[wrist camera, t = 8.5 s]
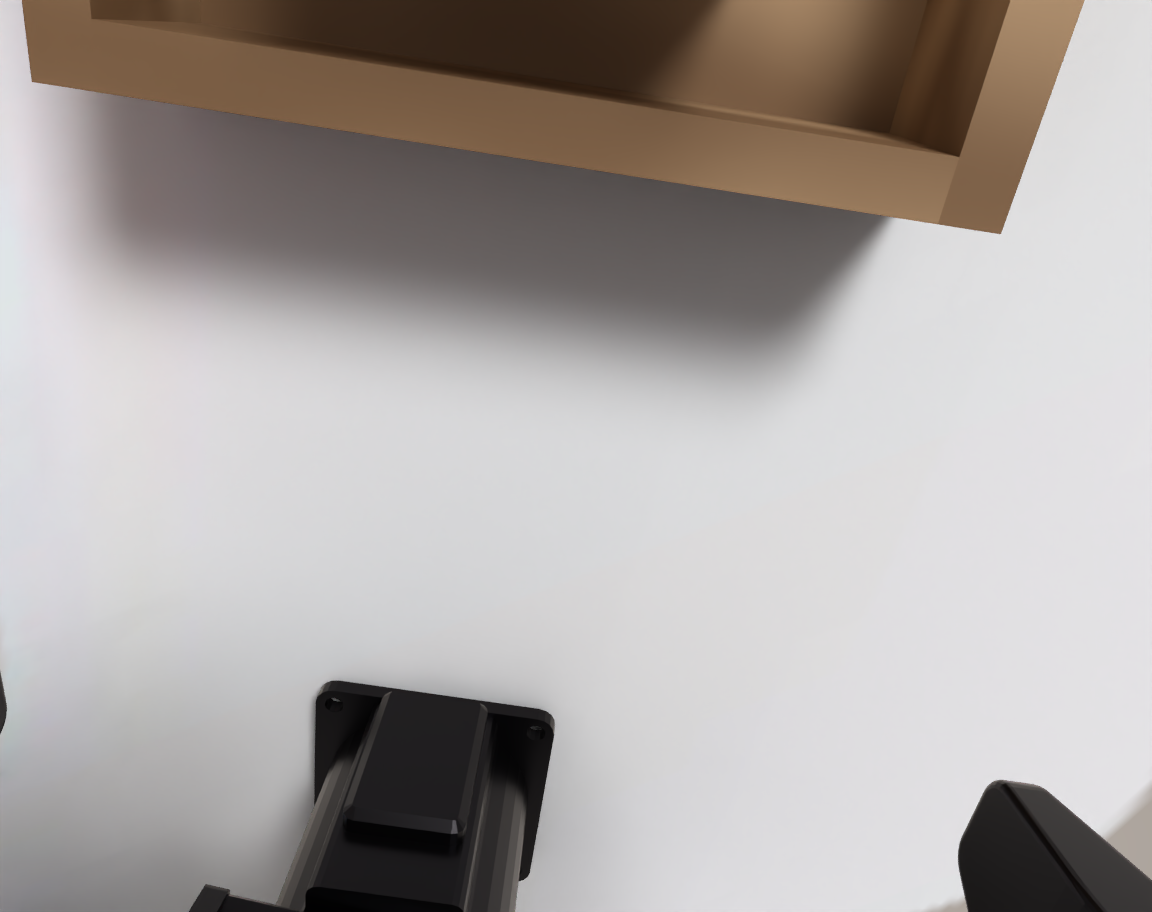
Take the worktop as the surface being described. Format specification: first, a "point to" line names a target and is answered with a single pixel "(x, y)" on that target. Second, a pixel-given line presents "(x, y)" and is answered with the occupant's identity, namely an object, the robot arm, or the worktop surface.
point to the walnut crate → (618, 84)
